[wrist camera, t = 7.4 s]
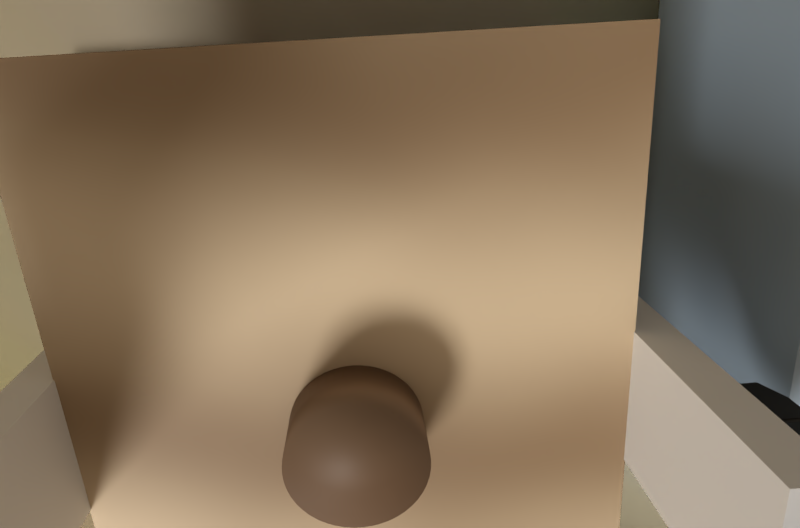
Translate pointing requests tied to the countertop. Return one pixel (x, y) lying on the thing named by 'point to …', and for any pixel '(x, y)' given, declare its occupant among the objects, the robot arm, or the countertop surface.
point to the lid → (339, 273)
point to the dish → (728, 185)
